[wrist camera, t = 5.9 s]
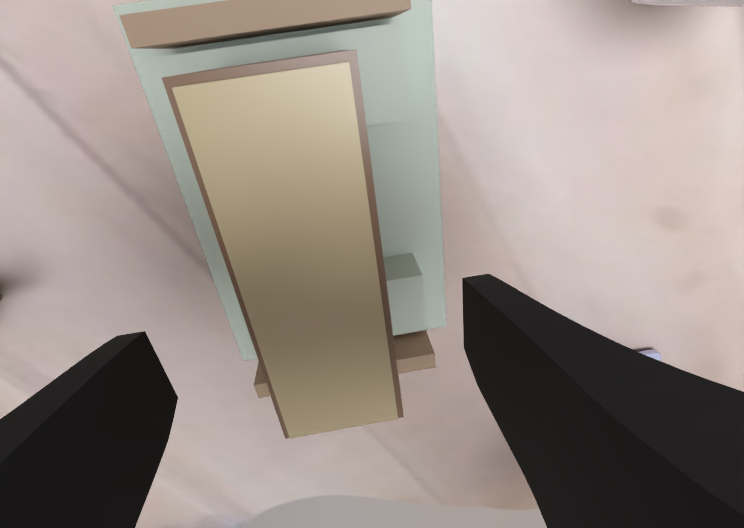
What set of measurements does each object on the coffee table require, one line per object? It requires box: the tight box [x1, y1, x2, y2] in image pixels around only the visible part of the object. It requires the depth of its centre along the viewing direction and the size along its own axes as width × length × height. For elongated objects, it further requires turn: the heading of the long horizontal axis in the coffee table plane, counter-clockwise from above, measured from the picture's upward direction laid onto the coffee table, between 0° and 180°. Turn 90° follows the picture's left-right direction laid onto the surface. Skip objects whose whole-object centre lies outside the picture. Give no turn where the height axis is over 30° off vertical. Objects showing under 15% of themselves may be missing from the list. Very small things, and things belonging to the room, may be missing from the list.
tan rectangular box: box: [162, 49, 403, 438], centre depth 13 cm, size 11×4×6 cm, turn 7°
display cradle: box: [113, 0, 447, 398], centre depth 16 cm, size 16×11×4 cm
